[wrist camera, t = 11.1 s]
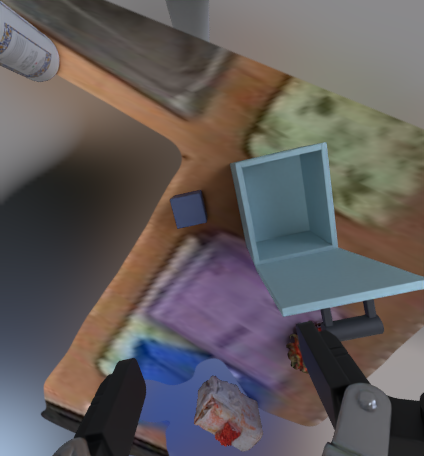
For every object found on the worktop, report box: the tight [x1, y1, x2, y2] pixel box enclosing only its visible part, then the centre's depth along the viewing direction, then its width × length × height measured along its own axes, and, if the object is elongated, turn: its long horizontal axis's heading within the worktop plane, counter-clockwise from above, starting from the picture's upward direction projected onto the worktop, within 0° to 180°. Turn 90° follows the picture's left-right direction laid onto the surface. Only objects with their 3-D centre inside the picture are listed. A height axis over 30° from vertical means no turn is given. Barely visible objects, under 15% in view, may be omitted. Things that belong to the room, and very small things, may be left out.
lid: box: [256, 248, 424, 341], centre depth 30 cm, size 16×13×5 cm
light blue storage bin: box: [230, 142, 338, 267], centre depth 41 cm, size 16×13×10 cm
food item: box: [194, 376, 263, 451], centre depth 52 cm, size 14×8×10 cm, turn 55°
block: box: [170, 190, 207, 229], centre depth 44 cm, size 5×5×5 cm
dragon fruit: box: [286, 321, 323, 373], centre depth 50 cm, size 8×8×12 cm
